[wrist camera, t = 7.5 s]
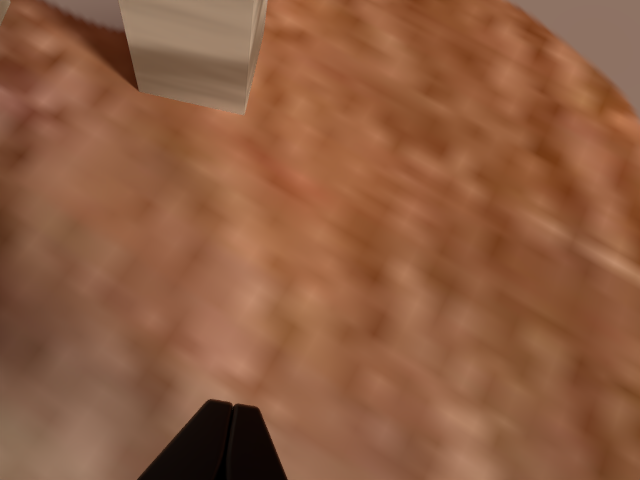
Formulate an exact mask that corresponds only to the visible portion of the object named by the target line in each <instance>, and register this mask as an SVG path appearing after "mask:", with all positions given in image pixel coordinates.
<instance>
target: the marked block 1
mask: <svg viewBox="0 0 640 480" xmlns="http://www.w3.org/2000/svg"><path fill="white" fill-rule="evenodd" d="M10 3H11V2H10V0H0V25H1V23H2V21H3V18H4V16H5V14H6V12H7V9H8V7H9V5H10Z"/></svg>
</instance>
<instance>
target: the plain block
mask: <svg viewBox="0 0 640 480" xmlns="http://www.w3.org/2000/svg"><path fill="white" fill-rule="evenodd" d="M118 2H119V6H120V11H121V15H122V20H123V24H124V28H125V33H126V37H127V41H128V46H129V50H130V54H131V59H132V63H133V67H134V72H135V76H136V80H137V85H138V89H139V92H143V93H148V94H152V95H157V96H161V97H165V98H170V99H174V100H179V101H183V102H187V103H192V104H196V105H201V106H205V107H209V108H214V109H218V110H223V111H227V112H231V113H236V114H240V115H245V111H246V106H247V102H248V98H249V94H250V89H251V85H252V81H253V77H254V72H255V68H256V64H257V60H258V55H259V51H260V47H261V42H262V38H263V34H264V26H265V18H266V9H267V0H118Z"/></svg>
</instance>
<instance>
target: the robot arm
mask: <svg viewBox="0 0 640 480" xmlns="http://www.w3.org/2000/svg"><path fill="white" fill-rule="evenodd" d="M232 409H233V410H232ZM137 480H288V479H287V477H286V474H285V472H284V469H283V467H282V464H281V462H280V459H279V457H278V454H277V452H276V449H275V447H274V444H273V442H272V439H271V437H270V434H269V432H268V429H267V427H266V424H265V422H264V419H263V417H262V414H261V412H260V410H259V408H257V407H255V406H250V405H244V404H235V405H234V406H233V405H232V403H230V402H226V401H220V400H214V399H210V400H208V401H206V402H205V404H204V405H203V406H202V407H201V408H200V409H199V410H198V411H197V413H196V414H195V415H194V416H193V417H192V418H191V419H190V420H189V422H188V423H187V424H186V425H185V426H184V427H183V428H182V429H181V431H180V432H179V433H178V434H177V435H176V436H175V437H174V438H173V440H172V441H171V442H170V443H169V444H168V445H167V446H166V447H165V449H164V450H163V451H162V452H161V453H160V454H159V455H158V456H157V458H156V459H155V460H154V461H153V462H152V463H151V464H150V465H149V467H148V468H147V469H146V470H145V471H144V472H143V473H142V474H141V476H140V477H139V478H138V479H137Z"/></svg>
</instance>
